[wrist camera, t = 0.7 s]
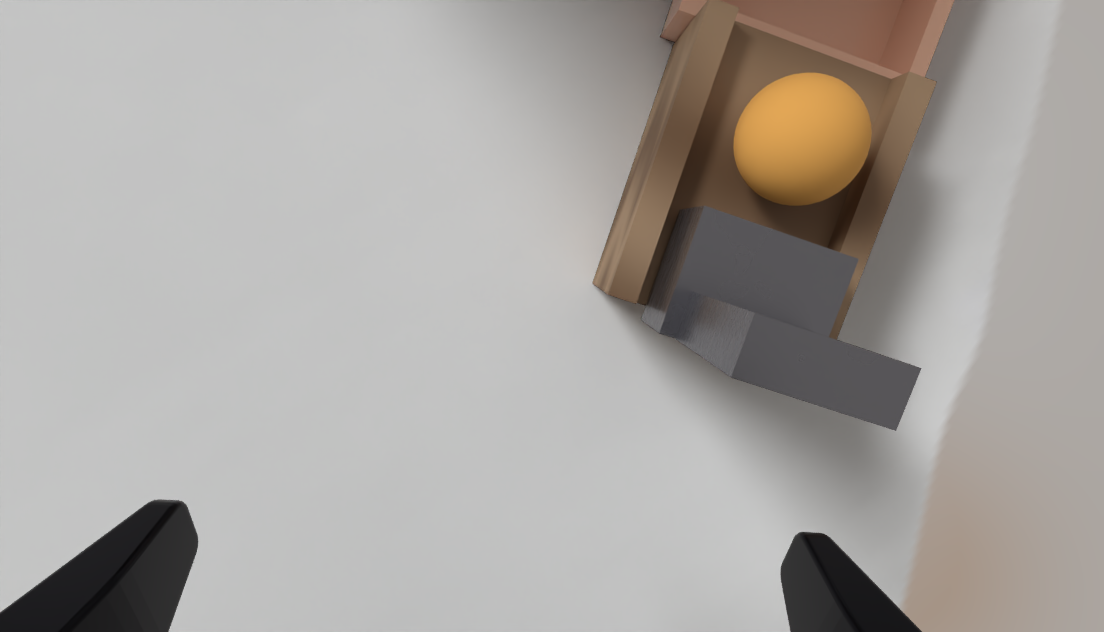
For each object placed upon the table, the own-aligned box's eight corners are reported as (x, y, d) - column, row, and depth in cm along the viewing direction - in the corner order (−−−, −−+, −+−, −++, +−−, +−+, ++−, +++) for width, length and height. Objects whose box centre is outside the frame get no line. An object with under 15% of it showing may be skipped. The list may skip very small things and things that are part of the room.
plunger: (772, 362, 22) (916, 437, 14) (641, 319, 22) (709, 369, 14) (813, 255, 22) (985, 267, 14) (679, 209, 21) (774, 193, 13)
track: (769, 341, 26) (826, 366, 21) (592, 283, 26) (608, 294, 21) (856, 111, 25) (936, 81, 20) (673, 44, 25) (710, -4, 20)
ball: (786, 230, 22) (844, 229, 18) (694, 166, 21) (733, 150, 17) (854, 133, 21) (928, 110, 18) (761, 66, 21) (816, 26, 17)
